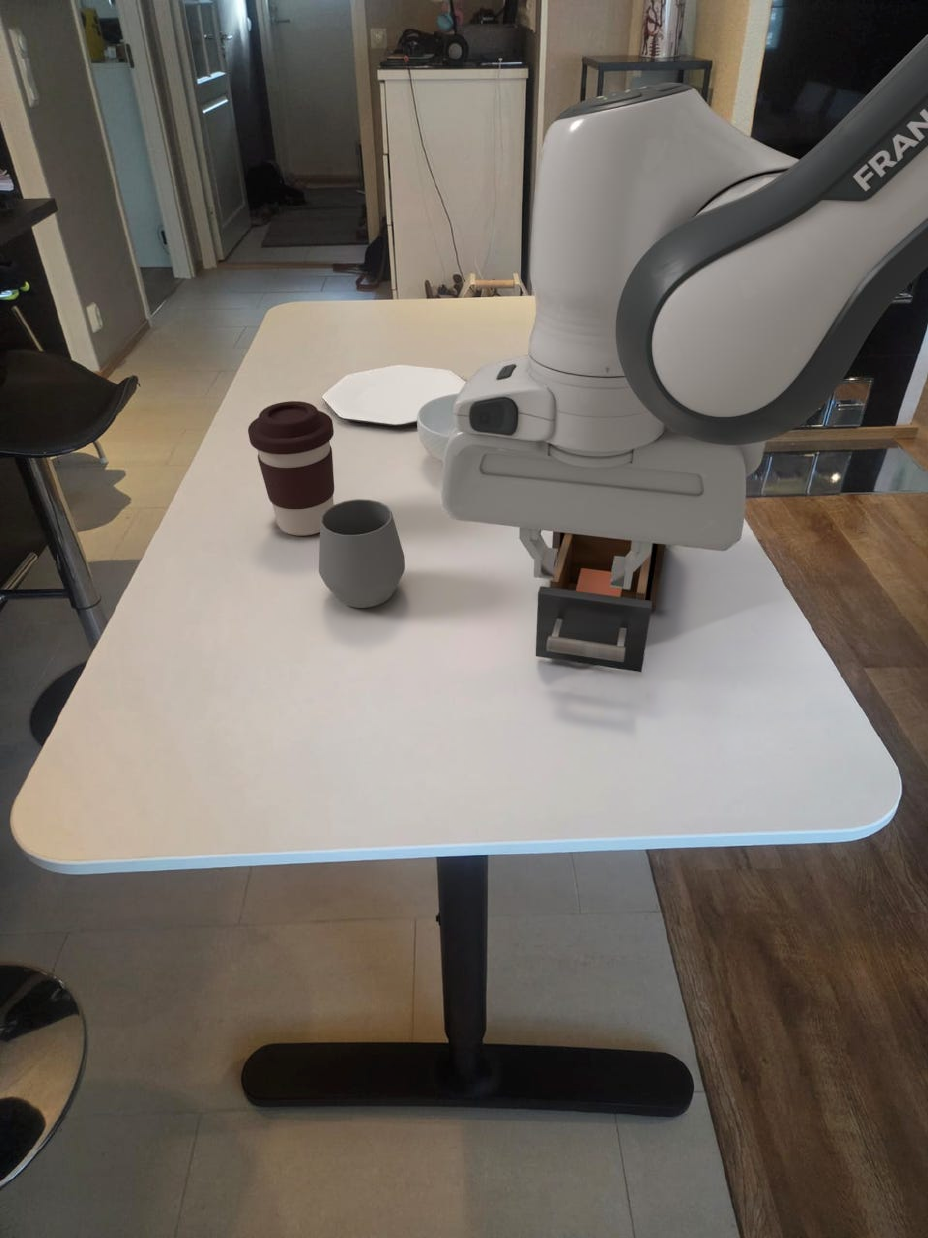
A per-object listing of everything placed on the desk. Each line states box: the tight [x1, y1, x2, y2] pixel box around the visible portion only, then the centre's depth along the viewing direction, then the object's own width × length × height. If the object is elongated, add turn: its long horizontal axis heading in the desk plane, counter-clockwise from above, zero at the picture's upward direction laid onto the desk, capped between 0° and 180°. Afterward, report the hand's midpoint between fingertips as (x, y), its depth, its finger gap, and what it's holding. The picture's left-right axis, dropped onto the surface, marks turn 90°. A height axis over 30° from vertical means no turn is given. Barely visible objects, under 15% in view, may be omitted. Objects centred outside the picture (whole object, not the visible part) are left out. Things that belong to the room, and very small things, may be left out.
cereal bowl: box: [416, 393, 459, 463], centre depth 114 cm, size 17×17×7 cm
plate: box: [321, 364, 467, 427], centre depth 133 cm, size 24×24×2 cm
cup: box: [318, 498, 406, 609], centre depth 87 cm, size 10×9×10 cm
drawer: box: [535, 533, 653, 673], centre depth 79 cm, size 17×10×8 cm, turn 165°
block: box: [576, 568, 623, 597], centre depth 81 cm, size 4×4×4 cm
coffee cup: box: [247, 400, 335, 536], centre depth 98 cm, size 10×10×15 cm
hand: (582, 579), depth 58 cm, fingers open, 4 cm apart
